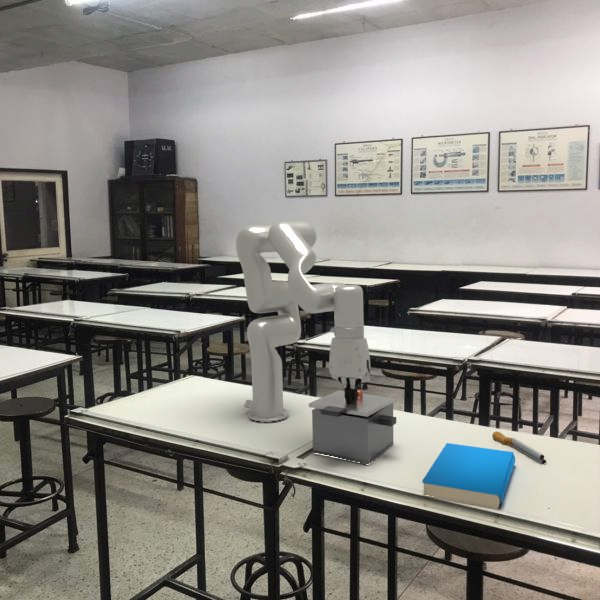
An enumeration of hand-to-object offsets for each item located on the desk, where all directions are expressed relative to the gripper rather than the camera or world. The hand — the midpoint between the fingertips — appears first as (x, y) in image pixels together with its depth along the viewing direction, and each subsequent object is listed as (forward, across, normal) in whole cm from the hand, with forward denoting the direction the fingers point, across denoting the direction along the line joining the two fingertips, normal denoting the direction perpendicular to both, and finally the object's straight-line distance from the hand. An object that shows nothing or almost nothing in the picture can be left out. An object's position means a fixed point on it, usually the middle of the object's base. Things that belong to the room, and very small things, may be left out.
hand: (351, 402), depth 160 cm
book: (+15, +32, -2) cm, 35 cm away
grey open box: (+14, +1, +2) cm, 14 cm away
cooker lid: (+1, -1, 0) cm, 1 cm away
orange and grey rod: (+15, +37, +22) cm, 46 cm away
